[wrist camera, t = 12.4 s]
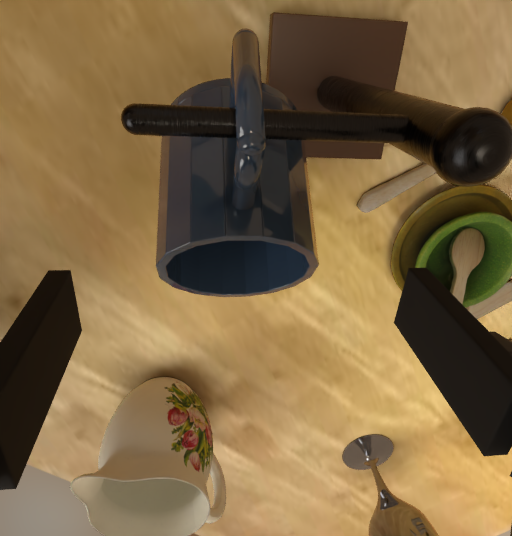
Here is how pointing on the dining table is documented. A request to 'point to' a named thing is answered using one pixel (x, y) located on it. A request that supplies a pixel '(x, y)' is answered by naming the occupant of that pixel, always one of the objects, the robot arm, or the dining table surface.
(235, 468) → the dining table surface
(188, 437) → the pitcher
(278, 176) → the mug
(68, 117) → the dining table surface
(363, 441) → the wine glass
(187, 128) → the cup holder
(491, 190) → the tableware set
